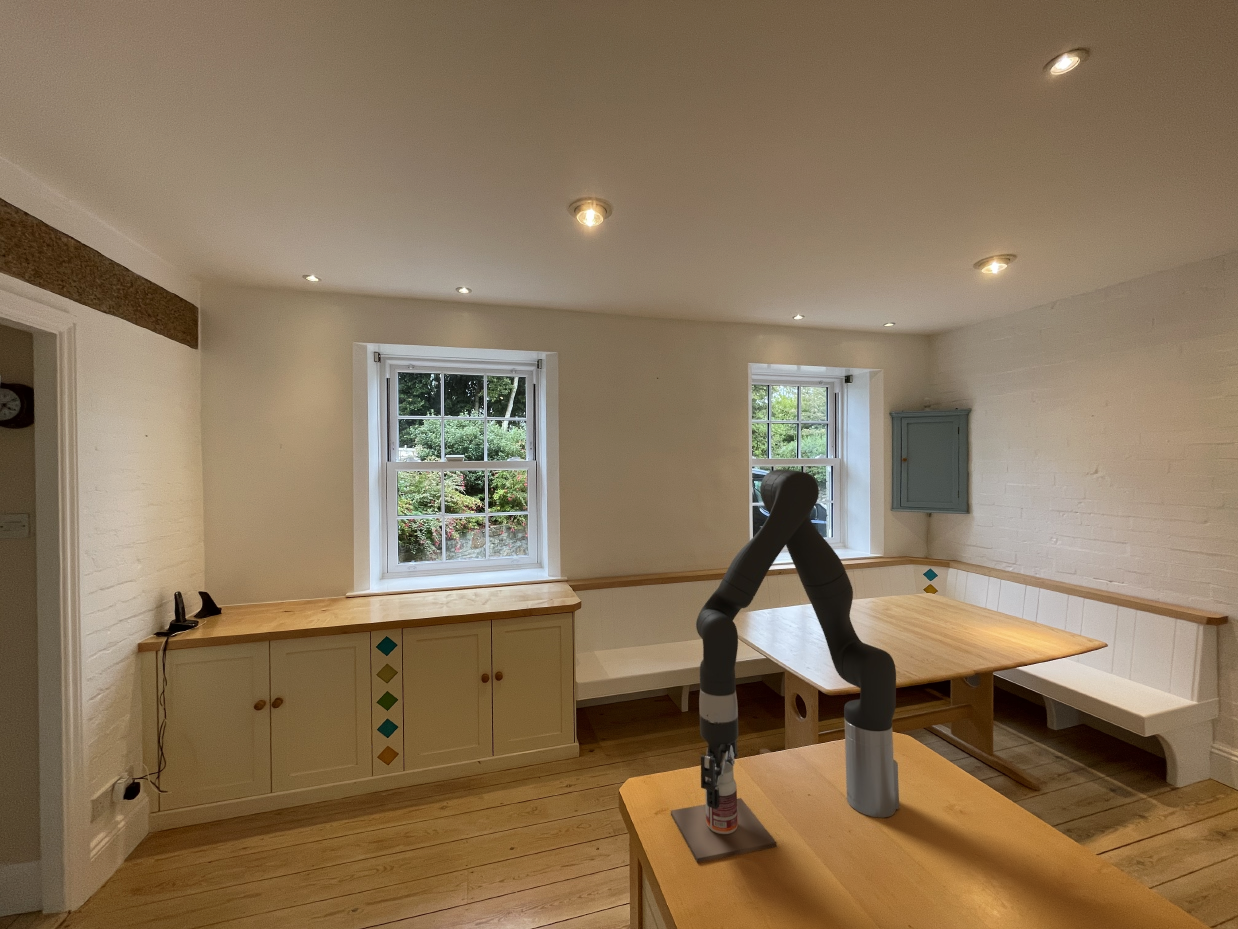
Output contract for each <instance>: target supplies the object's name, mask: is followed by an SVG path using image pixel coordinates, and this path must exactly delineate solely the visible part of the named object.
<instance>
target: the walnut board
mask: <svg viewBox="0 0 1238 929" xmlns="http://www.w3.org/2000/svg"><path fill="white" fill-rule="evenodd" d="M670 816H671V818H672V820H673V821H674V823H675V825H676V827H677V828H678V831H679V833H680V834H681V836H682V837H683V838H682V839H683V840H684V841H685V843H686V845H687V847H688V848H689V851H690V852H691V854H692V855H693V858H694V859H695V862H696V863H697V864H700V863H704V862H708V861H713V860H717V859H724V858H729V857H732V856H738V855H743V854H747V853H753V852H757V850H758V851H761V850H762V851H763V850H766V849H767V850H768V849H771V848H777V844H778V843H777V841H776V840H775V837H773V836H772V835H771V833H770V832H769V831H768V830H767V828H766V827H765V826H764V825H763V823H762V822H761V821H760V820H759V819H758V817H757V816H756V815H755V814H754V813H753V811H752V810H751V809H750V807H749V806H748V805H747V804H746V803H745V801H744V800H743V798H742V797H740V798H738V797H737V817H738V826H737V829H736V830H735V831H734V832H732V833H730V834H718V833H715V832H713V831H712V830H711V829H710V828H709V827H708V826H707V823H706V803H704V804H701V805H694V806H689V807H688V806H687V807H682V808H677V809H672V810H670Z"/></svg>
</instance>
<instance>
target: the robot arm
mask: <svg viewBox="0 0 1238 929" xmlns="http://www.w3.org/2000/svg"><path fill="white" fill-rule="evenodd" d="M819 488H820V487H819V484H818V482H817V480H816V479H815V478H814V477H813V475H811V474H809V473H807V472H805V471H801V470H792V469H775V470H770V471H768V472H767V473H766V474H765V475H764V477H763V478H762V479H761V482H760V486H759V490H760V491H759V492H760V498H761V501H762V503H763V505H764V507H765V509H766V510H767V513H768V514H769V515H768V516H767V518H766V520H765V522H764V523H763V525H762V526H761V528H760V529H758V531H757V532H756V534H755V535H754V536H753V537H752V538H751V539H750V540H749V541H748V542H747V543H746V544H745V545H744V546H743V547H742V548H740V550H739V552H737V554H736V555H735V557H734V558H733V560H732V561H731V563H730V565H729V567H728V568H727V570H726V572H725V573H724V576H723V577H722V579H721V581H720V584H719V586H718V587H717V588H716V590H715V591H714V592H713V593H712V594H711V595H710V596H709V598H708V599H707V601H706V602H705V603H704V604H703V607H702V608H701V610H700V611H699V613H698V614H697V619H696V621H695V622H696V623H695V625H696V626H695V627H696V628H695V629H696V632H697V633H698V635H699V637H700V638H701V640H702V647H703V648H702V649H703V650H702V653H703V654H702V657H703V658H702V660H701V662H700V665H699V696H698V697H699V699H698V702H699V703H698V705H699V706H698V707H699V733H700V737H701V738H702V739H703V740H704V741H705V742H707V745H708V746H707V747H706V754H705V755H704V754H701V756H700V788H701V789H703V790H705V789H707V805H708V806H709V807H711V808H714V809H718V807H719V782H720V777H722V776H723V773H724V767H725V763H727V762H729V763H730V764H731V765H732V766H733V767H734V765H735V764H736V762H735V759H737V758H738V741H737V740H738V739H739V712H738V711H739V708H738V698H737V690H736V689H737V687H736V686H737V685H736V684H737V683H736V669H735V668H736V663H737V657H738V648H739V647H738V646H739V634H738V628H737V626H736V625H737V624H735V621H734V619H735V618H736V617H737V615H738V614H739V612H740V611H741V610H742V609H746V608H748V607H749V606H750V604H751V603H752V601H753V600H754V598H755V596H756V595H757V593H758V591H759V588H760V587H761V585H762V583H763V582H764V579H765V577H766V575H767V574H768V572H769V570H770V568H771V567H772V566H773V564H774V562H775V561H776V560H777V558H778V556H779V555H780V553H782V551H783V549H784V548H785V546H786V549H787V552H788V554H789V555H790V559H791V561H792V563H793V565H794V567H795V568H794V569H795V570H796V572H797V575H798V577H799V579H800V580H799V581H800V582H801V585H802V587H803V589H804V591H805V594H806V596H807V597H808V600H809V601H810V603H811V606H812V608H813V611H814V613H815V616H816V618H817V620H818V622H819V626H820V627H821V630H822V632H823V636H824V638H825V641H826V645H827V647H828V651H829V654H830V657H831V661H832V663H833V666H834V668H835V671H836V672H837V674H838V676H839V677H840V678H841V679H843V681H845V682H847V683H848V684H850V685H853V686H854V687H856V688H859V689H860V692H859V695H860V696H859V699H853V700H852V699H851V700H848V701H847V702H846V703H845V704H844V707H843V709H844V710H843V713H844V714H843V715H844V716H843V718H844V745H845V746H844V749H845V751H844V752H845V776H846V777H845V783H846V800H847V801H846V802H847V803H848V804H849V806H851V808H853V809H854V810H856V811H857V812H859V813H861V814H863V815H865V816H868V817H872V818H879V819H880V818H888V817H892V816H893V815H894V814H895V812H896V811H897V810H900V790H899V789H900V788H899V764H898V762H897V761H896V760H895V758H894V737H893V718H894V715H895V712H896V704H897V703H896V702H897V700H896V699H897V697H896V696H897V668H896V664H895V661H894V659H893V657H892V655H891V654H890V653H889V652H887V651H886V650H883V649H881V648H879V647H876V646H873V645H871V644H867V643H865V642H862V641H861V639H860V638H859V635H858V634H857V633H856V630H855V628H854V625H853V624H852V621H851V620H852V619H851V616H850V615H851V609H852V604H853V598H854V589H853V586H852V582H851V579H850V577H849V576H848V572H847V571H846V569H845V566H844V564H843V562H842V560H841V559H840V557H839V556H838V554H837V553H836V551H835V550H834V548H832V547H831V544H829V543H828V541H827V540H826V539H825V538H824V537H823V535H822V534H821V533H820V532H819V531H818V529H817V528H816V526H815V525H814V523H813V522H812V521H813V520H811V518H810V513H812V510H813V509H814V508H815V506H816V504H817V503H818V499H819V494H820V490H819ZM715 767H716V768H720V769H719V770H715ZM715 775H716V779H715ZM710 779H711V781H710ZM733 779H734V778H733ZM734 780H735V779H734ZM896 809H897V810H896Z"/></svg>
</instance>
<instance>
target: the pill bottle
mask: <svg viewBox="0 0 1238 929" xmlns="http://www.w3.org/2000/svg"><path fill="white" fill-rule="evenodd" d="M719 769H720V768H716V767H715V770H719ZM734 777H735V776H734V766H732V765H731V764H730V763H729V762H727V763H725V767H724V773H723V776H722V777H720V782H719V807H718V809H714V808H711V807H709V806H708V805H707V789H704V790H705V791H704V792H705V793H704V794H705V804H706V823H707V826H708V827H709V828H710V829H711V830H712V831H713V832H715V833H718V834H730V833H732V832H734V831H735V830H736V829H737V826H738V817H737V799H738V788H737V782H736V780H735V779H733V778H734ZM715 779H716V775H715ZM710 781H711V779H710Z"/></svg>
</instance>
